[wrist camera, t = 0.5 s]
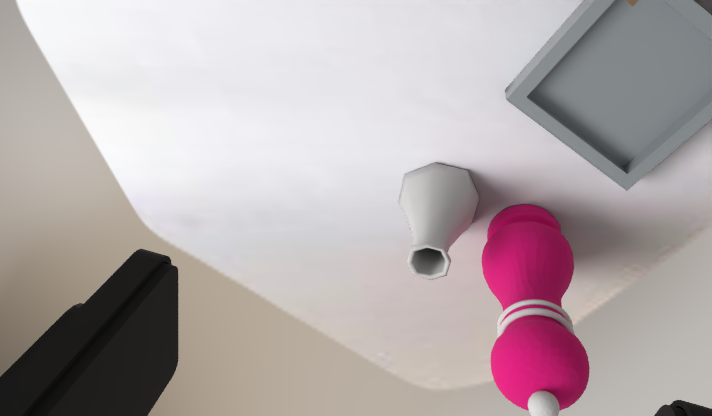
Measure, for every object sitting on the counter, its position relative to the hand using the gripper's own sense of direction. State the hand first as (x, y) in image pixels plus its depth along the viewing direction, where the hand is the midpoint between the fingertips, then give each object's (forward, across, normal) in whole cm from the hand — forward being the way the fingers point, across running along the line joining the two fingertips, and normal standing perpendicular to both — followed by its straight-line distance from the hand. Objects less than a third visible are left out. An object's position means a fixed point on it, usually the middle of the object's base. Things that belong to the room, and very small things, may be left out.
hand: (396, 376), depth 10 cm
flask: (+35, -2, +15) cm, 39 cm away
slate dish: (+35, -13, +1) cm, 37 cm away
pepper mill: (+35, -10, +16) cm, 40 cm away
